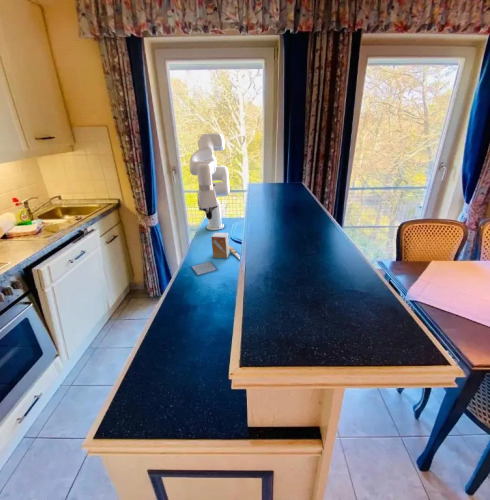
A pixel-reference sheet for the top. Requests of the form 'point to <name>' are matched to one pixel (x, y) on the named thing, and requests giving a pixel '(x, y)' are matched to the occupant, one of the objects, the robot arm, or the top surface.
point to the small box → (220, 245)
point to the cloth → (203, 268)
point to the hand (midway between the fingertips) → (209, 218)
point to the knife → (234, 252)
